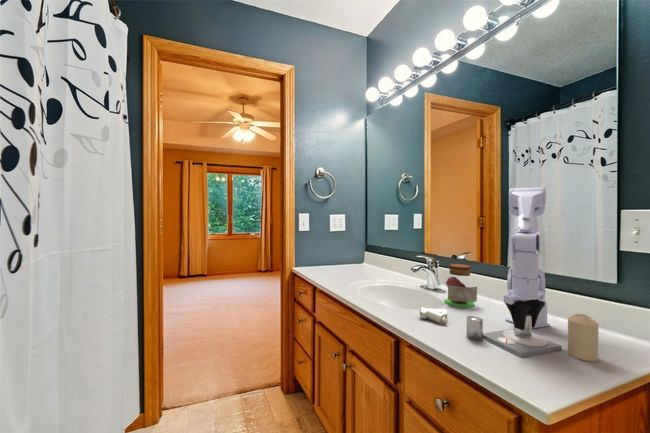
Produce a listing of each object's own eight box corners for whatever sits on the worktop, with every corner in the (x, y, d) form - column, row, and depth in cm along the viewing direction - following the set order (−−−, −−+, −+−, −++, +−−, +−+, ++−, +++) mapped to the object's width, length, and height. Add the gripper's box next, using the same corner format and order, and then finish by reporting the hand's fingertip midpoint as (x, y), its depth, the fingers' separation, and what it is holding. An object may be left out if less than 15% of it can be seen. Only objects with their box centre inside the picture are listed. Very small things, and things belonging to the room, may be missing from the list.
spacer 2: (518, 330, 80) (517, 310, 80) (534, 335, 77) (534, 314, 77) (511, 333, 78) (511, 313, 78) (527, 338, 74) (527, 317, 74)
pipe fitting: (449, 327, 88) (444, 318, 94) (449, 315, 88) (445, 307, 94) (422, 325, 90) (419, 316, 96) (422, 313, 89) (420, 305, 96)
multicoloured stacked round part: (435, 299, 116) (435, 263, 116) (464, 299, 117) (464, 263, 118) (451, 309, 104) (451, 268, 104) (483, 308, 106) (483, 268, 106)
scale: (516, 331, 84) (516, 326, 84) (561, 349, 73) (561, 344, 73) (480, 337, 80) (480, 332, 80) (521, 357, 68) (521, 351, 68)
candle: (601, 364, 65) (601, 321, 65) (570, 357, 68) (570, 316, 68) (594, 354, 70) (594, 314, 70) (565, 349, 73) (566, 310, 73)
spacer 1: (474, 334, 81) (474, 315, 82) (486, 340, 78) (486, 320, 78) (463, 336, 80) (463, 316, 80) (474, 342, 76) (474, 321, 76)
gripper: (526, 272, 83) (525, 319, 83) (492, 276, 78) (492, 326, 77) (553, 277, 77) (553, 327, 77) (519, 281, 71) (519, 336, 71)
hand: (524, 327), depth 77 cm, fingers closed on spacer 2, 4 cm apart
